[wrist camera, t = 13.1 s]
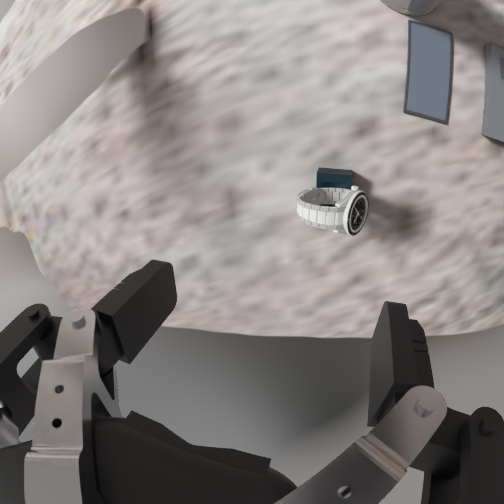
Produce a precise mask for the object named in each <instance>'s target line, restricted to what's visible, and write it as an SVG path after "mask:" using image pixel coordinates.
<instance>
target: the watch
mask: <svg viewBox="0 0 504 504" xmlns="http://www.w3.org/2000/svg"><path fill="white" fill-rule="evenodd" d="M368 207H369V201H368V196H367V194H366V193H365V192H364V191H359V187H358V186H352V170H343V169H331V168H319V169H318V171H317V188H316V187H315V188H310V189H307V190H305V191H303V192H301V193H299V194H298V196H297V217H298V218H299V219H300V220H301V221H302V222H305V223H306V224H308V225H310V226H313V227H317V228H322V229H330V230H334V231H333V232H336V233H342V234H348V235H350V236H355V235H357V234H358V233H359V232H360V231H361V229H362V227H363V226H364V223H365V221H366V218H367V214H368ZM328 225H329V226H328Z"/></svg>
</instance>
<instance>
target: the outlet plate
mask: <svg viewBox="0 0 504 504" xmlns="http://www.w3.org/2000/svg"><path fill="white" fill-rule="evenodd" d="M485 60H486V81H485V104H484V117H483V127H482V135H485V136H487V137H490V138H493V139H496V140H498V141H501V142H504V49H502V48H500V47H498V46H496V45H493V44H488V45H485Z"/></svg>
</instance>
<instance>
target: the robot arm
mask: <svg viewBox="0 0 504 504" xmlns="http://www.w3.org/2000/svg"><path fill="white" fill-rule="evenodd" d="M381 1H382V2H383V3H384V4H386V5H387V6H389V7H390V8H392V9H393V10H396V11H398V12H400V13H403V14H406V15H413V16H420V15H425V14H428V13H429V12H431V11H432V10H433V9H434V8H435V7H436V6H437V5H438V4H439V3H440V2H441V1H442V0H381ZM176 302H177V292H176V285H175V279H174V272H173V266H172V264H171V263H168V262H163V261H158V260H151V261H150V262H149V263H148V264H146V265H145V266H144V267H143V268H142V269H140V270H137V271H135V272H133V273H131V274H129V275H128V276H127V277H126V278H125V279H123V280H122V281H121V283H119V284H118V285H117V286H116V287H114V289H112V290H111V291H110V292H109V293H108V294H107V295H106V296H105V297H103V298H102V299H101V300H100V301H99V302H98V303H97V304H96V305H95V306H94V307H93V308H91V309H89V308H77V309H74V310H72V311H70V312H68V313H67V314H66V315H65V316H64V317H55V316H51V314H50V312H49V309H48V307H47V306H46V305H44V304H34V305H32V306H30V307H28V308H26V309H25V310H24V311H23V312H22V313H21V314H19V315H18V316H17V317H16V318H15V319H14V320H13V321H12V322H11V323H10V324H9V325H8V326H7V327H6V328H5V329H4V330H3V331H2V332H0V504H378V503H379V502H380V501H381V500H382V499H383V498H384V497H385V496H386V495H387V494H388V493H389V492H390V491H391V490H392V489H393V487H395V485H396V484H397V483H398V482H399V481H400V480H401V479H402V477H403V476H404V475H405V473H406V472H407V470H406V469H407V468H408V467H412V468H415V469H418V470H421V471H424V482H423V491H422V500H421V504H504V421H503V418H502V417H501V415H500V414H499V413H498V412H497V411H496V410H494V409H492V408H489V407H481V408H478V409H477V410H476V411H474V413H473V414H472V415H471V416H470V415H467V414H464V413H461V412H458V411H455V410H453V409H450V408H448V407H447V404H446V401H445V398H444V397H443V395H442V394H441V393H440V392H439V391H437V390H436V389H435V388H434V382H433V375H432V369H431V364H430V357H429V354H428V347H427V344H426V338H425V332H424V330H423V328H422V327H421V325H420V324H419V323H418V321H417V320H412V319H409V317H408V311H407V306H406V304H402V303H395V302H389V301H385V302H384V305H383V307H382V310H381V313H380V316H379V319H378V322H377V325H376V328H375V331H374V334H373V337H372V342H371V349H370V390H369V410H368V423H367V426H370V427H374V428H373V429H372V430H371V431H370V432H369V433H368V434H367V435H366V436H364V437H363V436H362V437H360V438H359V439H358V440H357V441H355V442H354V443H353V444H352V445H351V446H350V447H349V448H347V449H346V450H345V451H344V452H343V453H342V454H341V455H339V456H338V457H337V458H336V459H335V460H333V461H332V462H331V463H330V464H328V465H327V466H326V467H325V468H324V469H322V470H321V471H320V472H318V473H317V474H316V475H314V476H313V477H312V478H310V479H309V480H308V481H307V482H305V483H304V484H302V485H301V486H299V487H297V486H296V485H295V484H294V483H293V482H292V481H291V480H290V479H288V478H287V477H286V476H285V475H283V474H281V473H280V472H278V471H276V470H274V469H272V468H270V461H271V459H270V458H265V457H261V456H257V455H253V454H250V453H246V452H242V451H238V450H235V449H227V448H215V447H205V446H196V445H192V444H189V443H188V442H186V441H185V440H183V439H181V438H180V437H179V436H177V435H176V434H174V433H173V432H172V431H170V430H169V429H168V428H166V427H165V426H164V425H162V424H161V423H158V422H156V421H154V420H151V419H149V418H147V417H144V416H142V415H140V414H138V413H136V412H134V411H131V412H130V414H129V415H128V416H127V418H123V417H122V414H121V411H120V407H119V398H118V397H119V396H118V381H117V367H116V365H115V364H116V362H117V361H118V360H121V361H123V362H126V363H128V364H130V363H131V362H132V361H133V360H134V358H135V357H136V356H137V354H138V353H139V352H140V351H141V349H142V348H143V347H144V346H145V344H146V343H147V342H148V341H149V339H150V338H151V337H152V336H153V334H154V333H155V332H156V331H157V329H158V328H159V327H160V326H161V324H162V323H163V322H164V321H165V320H166V318H167V317H168V316H169V315H170V313H171V312H172V311H173V310H174V308H175V305H176ZM32 347H33V348H34V350H35V352H36V353H37V355H38V357H39V358H38V359H37V361H36V362H35V363H34V364H33V365H32V366H31V367H30V369H29V370H28V371H27V372H26V373H25V374H24V375H23V377H22V378H20V377H19V376H18V374H17V364H18V363H19V361H20V360H21V359H22V358H23V357H24V356H25V355H26V353H28V351H29V350H30V349H31V348H32ZM33 417H34V426H33V438H32V440H31V441H27V442H23V443H22V442H21V441H20V440H19V436H20V435H21V433H22V432H23V430H24V429H25V428H26V426H27V425H28V424H29V422H30V421H31V419H32V418H33Z"/></svg>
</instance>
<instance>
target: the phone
mask: <svg viewBox="0 0 504 504" xmlns="http://www.w3.org/2000/svg"><path fill="white" fill-rule="evenodd" d="M451 73H452V33H450V32H448V31H445V30H442V29H439V28H436V27H432V26H429V25H426V24H423V23H419V22H415V21H412V20H408V61H407V78H406V91H405V101H404V111H403V112H404V113H408V114H412V115H416V116H420V117H424V118H427V119H431V120H434V121H437V122H441V123H444V124H447V118H448V110H449V100H450V88H451Z"/></svg>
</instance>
